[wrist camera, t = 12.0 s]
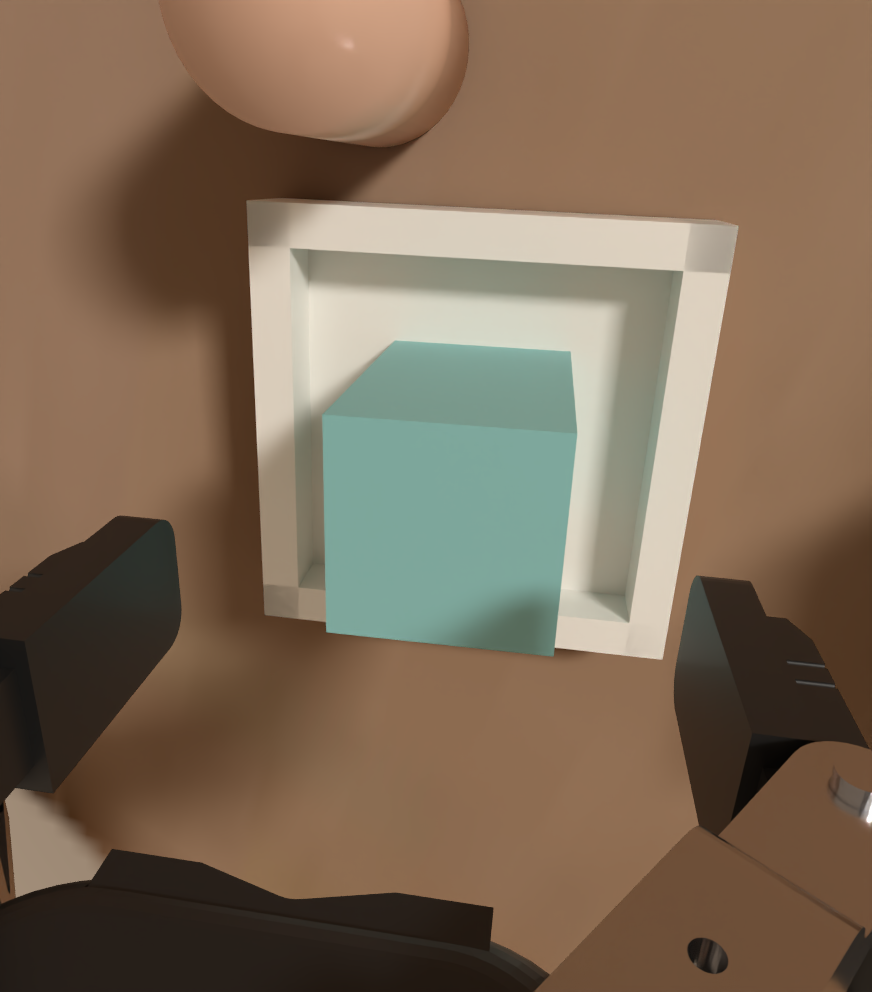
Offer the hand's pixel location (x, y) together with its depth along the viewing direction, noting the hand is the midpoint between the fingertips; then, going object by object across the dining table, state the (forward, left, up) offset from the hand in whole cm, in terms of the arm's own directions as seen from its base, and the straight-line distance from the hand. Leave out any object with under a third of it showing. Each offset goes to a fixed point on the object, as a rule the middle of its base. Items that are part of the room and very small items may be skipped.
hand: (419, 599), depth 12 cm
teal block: (0, 0, -10) cm, 10 cm away
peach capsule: (-9, -3, -11) cm, 14 cm away
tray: (0, 0, -11) cm, 11 cm away
